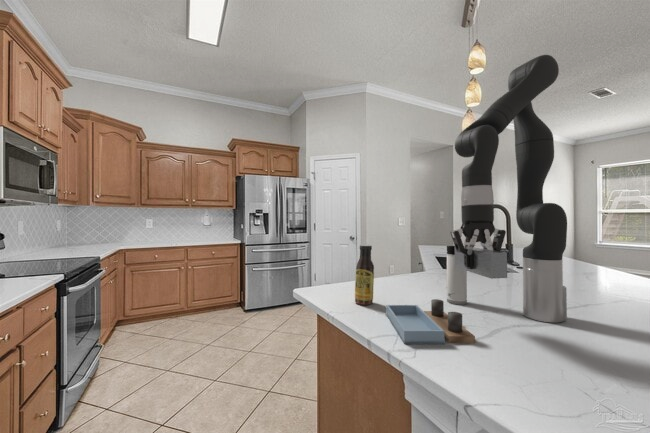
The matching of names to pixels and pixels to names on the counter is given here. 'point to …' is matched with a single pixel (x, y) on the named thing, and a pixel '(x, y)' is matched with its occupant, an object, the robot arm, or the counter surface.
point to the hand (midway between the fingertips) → (478, 268)
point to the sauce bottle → (364, 277)
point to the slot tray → (414, 325)
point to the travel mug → (455, 280)
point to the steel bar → (485, 263)
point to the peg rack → (449, 323)
